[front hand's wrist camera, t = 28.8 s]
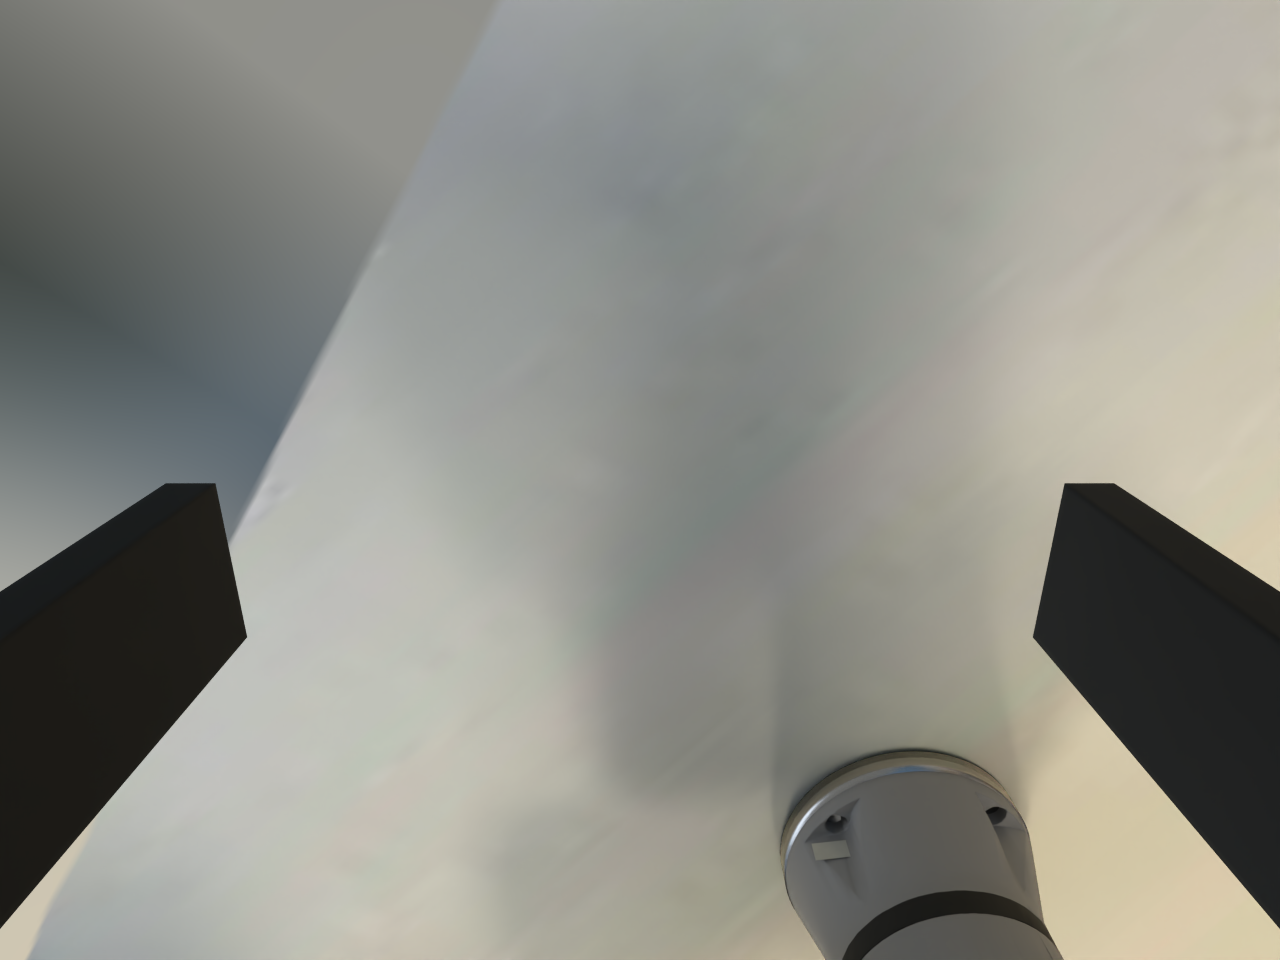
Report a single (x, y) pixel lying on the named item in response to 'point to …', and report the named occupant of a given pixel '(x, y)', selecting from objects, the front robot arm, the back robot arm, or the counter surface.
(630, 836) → the counter surface
